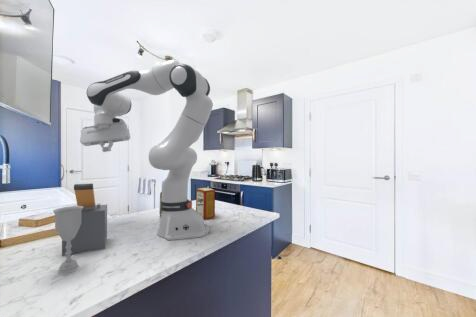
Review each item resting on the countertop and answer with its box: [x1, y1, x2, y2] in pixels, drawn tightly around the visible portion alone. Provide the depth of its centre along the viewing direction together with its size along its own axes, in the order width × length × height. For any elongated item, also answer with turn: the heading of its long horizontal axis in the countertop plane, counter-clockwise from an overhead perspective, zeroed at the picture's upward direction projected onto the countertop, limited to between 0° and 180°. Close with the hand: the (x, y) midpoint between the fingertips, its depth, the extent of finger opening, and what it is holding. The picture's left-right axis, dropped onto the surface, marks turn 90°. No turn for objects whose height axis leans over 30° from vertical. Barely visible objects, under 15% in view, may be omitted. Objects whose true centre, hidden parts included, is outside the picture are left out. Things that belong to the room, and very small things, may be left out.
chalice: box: [52, 205, 83, 275], centre depth 60 cm, size 7×7×18 cm
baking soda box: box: [195, 187, 216, 221], centre depth 113 cm, size 10×6×16 cm
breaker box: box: [61, 203, 108, 257], centre depth 75 cm, size 10×12×15 cm
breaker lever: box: [73, 183, 97, 209], centre depth 72 cm, size 2×5×12 cm
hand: (106, 151), depth 92 cm, fingers closed
